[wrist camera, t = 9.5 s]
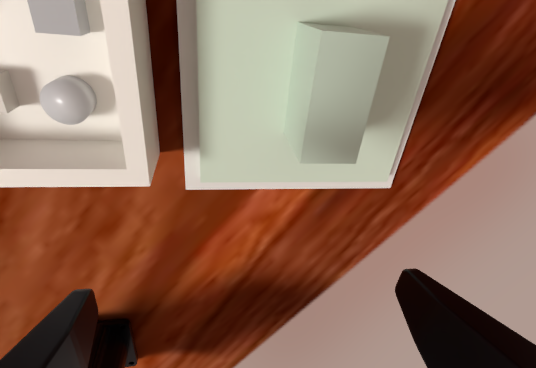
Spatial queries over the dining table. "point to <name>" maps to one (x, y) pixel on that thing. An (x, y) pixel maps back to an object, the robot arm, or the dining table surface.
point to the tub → (76, 94)
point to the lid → (308, 86)
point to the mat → (191, 110)
